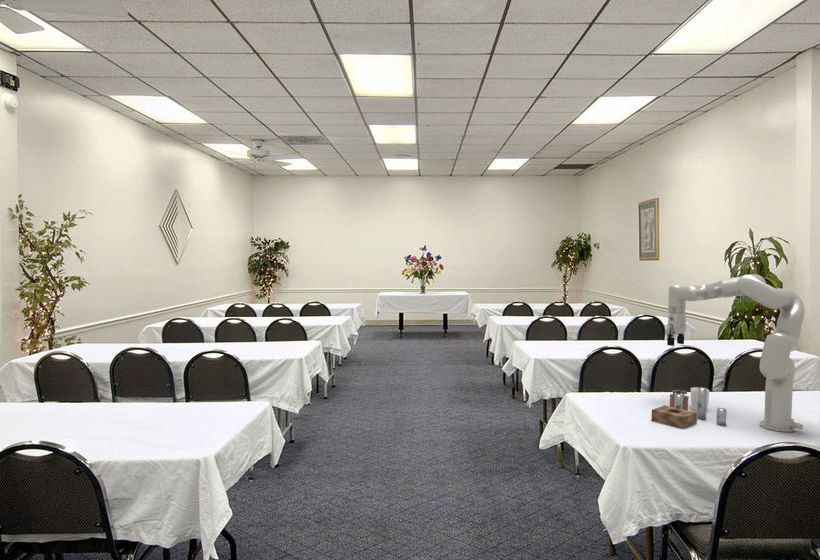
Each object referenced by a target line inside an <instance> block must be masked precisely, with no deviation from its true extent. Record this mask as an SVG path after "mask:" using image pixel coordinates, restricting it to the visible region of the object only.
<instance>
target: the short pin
mask: <svg viewBox="0 0 820 560" xmlns="http://www.w3.org/2000/svg"><path fill="white" fill-rule="evenodd" d="M716 425H717V426H719V427H726V426H727V409H726V408H723V407H717V408H716Z"/></svg>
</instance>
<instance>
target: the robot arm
mask: <svg viewBox="0 0 820 560" xmlns="http://www.w3.org/2000/svg"><path fill="white" fill-rule="evenodd" d="M740 296H746V297H748V298H750V299H751V300H753V301H755V302H756V303H759V304H760V305H761V306H764V307H766V308H769V309H771V310H779V311H780V313H779V315H778V317H777V321H776V322H777V323H776V327H775V329H774V330H775V331H774V332H771V333H770V334H768V336H766V338H765V340H764V343H763V347H762V350H761V351H762V352H761V356H760V360H759V366H758V367H759V370H760V374H762V375H763V377H765V378H766V379H765V388H764V389H765V390H764V391H765V392H764V394H765V395H764V413H763V414H764V417H763V420H761V421H759V426H761V427H762V428H765V429H768V430H770V431H777V432H783V433H792V432H795V431H796V429H799V430H803V429H804V424H802V423H800V422H795V419H794V418H792V416H793V415H792V414H793V413H792V411H793V410H792V409H793V392H794V379H795V373H796V366H795V365H796V364H795V363H794V360H793V359H792V358H791V357H790V356H791V353H792V352H794V351H795V350H797V348H798V345H799V343H800V342H799V341H800V336H801V331H802V326H803V321H804V317H805V305H804V302H803V300H802V298H801V297H800V296H799V295H798V294H797V293H795V291H792V290H790V289H787V288H784V287H783V288H782V287H781V288H775V287H774V286H771V285H769V284H767V283H766V280H765V278H764V277H763V276H761V275H760V274H754V273H753V274H744V275H742V276H736V277H730V278H723V279H721V280H719V281H717V282H711V283H706V284H699V285H698V284H697V285H696V284H695V285H682V284H673V285H671V284H670V285H669V288H668V304H667V305H668V310H667V313H668V319H667V328H666V329H665V330H666V331H665V332H666V338H667V339H666V342H667V344H666V346H671V347H675V340H676V344H678V345H679V344H680V345H684V344H685V335H686V334H685V333H686V332H687V316H686V302H698V301H699V302H701V301H707V300H712V299H720V298H726V299H727V298H733V297H740ZM676 334H677V336H676V339H675V335H676Z"/></svg>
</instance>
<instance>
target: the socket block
mask: <svg viewBox="0 0 820 560" xmlns="http://www.w3.org/2000/svg"><path fill="white" fill-rule="evenodd" d="M650 419H651V421H652V422H654V421H655V423H658V422H659V424H662V425H666V426H670V427H675V428H678V429H682V430H685V429H688V428H690V427H692V426H696V425H697V424H698V421H697V420H698V419H697V411H693V410H689V409H688V410H683V409H679V408H675V407H670V405H666V404H665V405H662V406H658V407H656V408H653V409H651V418H650Z"/></svg>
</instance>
